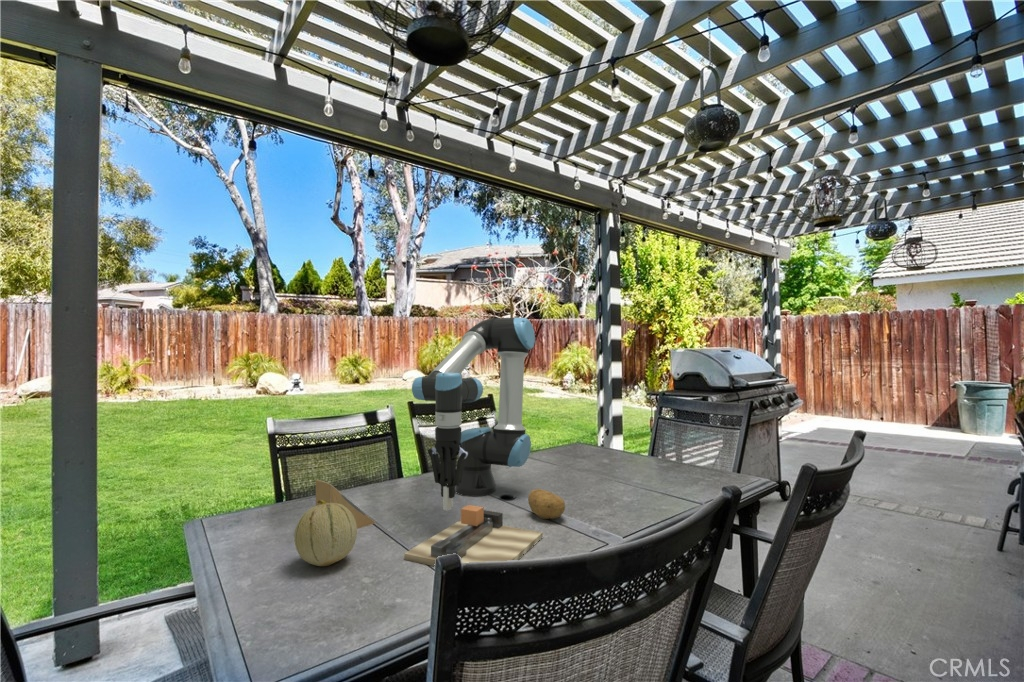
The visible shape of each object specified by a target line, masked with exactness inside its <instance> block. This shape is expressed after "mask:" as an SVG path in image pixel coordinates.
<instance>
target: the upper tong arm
mask: <svg viewBox="0 0 1024 682" xmlns="http://www.w3.org/2000/svg"><path fill="white" fill-rule="evenodd" d="M491 531H493V522H492V517H485V523H484V524H483V525H481V526H480V527H478V528H477V529H476V530H474V531H473V532H471V533H470V534H468V535H467V536H466V537H464V538H463V539H461V540H460V541H458V542H457V543H455V544H453V545H452V546H450V547H449V548H447V549H446V555H447V554H453V553H456V554H458V555H459V556H460V557H461V558H462V557H463V556H465V555H466V550H467V549H469V548H470V547H471V546H473V545H474V544H475V543H477V542H478V541H479V540H481V539H482V538H483V537H485V536H486V535H487V534H489V533H490V532H491Z"/></svg>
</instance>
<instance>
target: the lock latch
mask: <svg viewBox="0 0 1024 682" xmlns="http://www.w3.org/2000/svg"><path fill="white" fill-rule="evenodd" d="M484 510H485V509H484V507H483V506H477V505H472V504H467V505H465V506H464V507H462V508H461V509H460V520H461V524H467V525H473V526H478V525H479V524H481V523H482V522H484Z"/></svg>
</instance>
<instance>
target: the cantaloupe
mask: <svg viewBox="0 0 1024 682" xmlns="http://www.w3.org/2000/svg"><path fill="white" fill-rule="evenodd" d="M318 503H321V504H320V505H317V506H316V505H314V506H312V507H310V508H308V509H307V510H306V511H305V512H304V513H303V514H302V515H301V517H300V518H299V519H298V522H297V523H296V526H295V530H294V535H293V536H294V546H295V550H296V551H297V553H298V555H299V557H300V558H301V559H302V560H303V561H305V562H306V563H308V564H310V565H313V566H317V567H328V566H330V565H333V564H335V563H337V562H340V561H342V559H345V558H346V556H347V555H348V554H350V552H351V551H352V550H353V548H354V546H355V545H356V541H357V535H358V529H357V524H356V520H355V518H354V516H353V514H352V512H350V510H348V509H347V508H346V507H345V506H344V505H341V504H338V503H326V502H325V501H323V500H319V501H318Z"/></svg>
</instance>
